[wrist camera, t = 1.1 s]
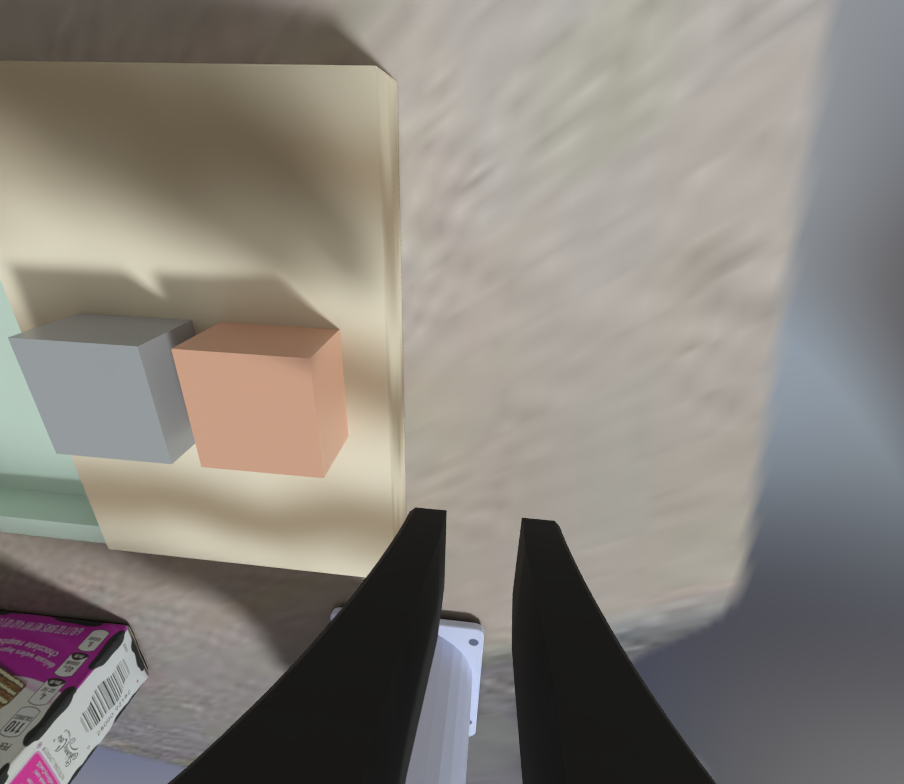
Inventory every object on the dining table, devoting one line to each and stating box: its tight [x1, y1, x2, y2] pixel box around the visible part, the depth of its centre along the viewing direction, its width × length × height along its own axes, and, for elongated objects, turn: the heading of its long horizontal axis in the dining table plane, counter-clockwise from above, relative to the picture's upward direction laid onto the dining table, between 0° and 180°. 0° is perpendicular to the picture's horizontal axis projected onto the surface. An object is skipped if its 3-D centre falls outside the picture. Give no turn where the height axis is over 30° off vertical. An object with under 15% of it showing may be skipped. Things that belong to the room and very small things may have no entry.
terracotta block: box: [171, 322, 349, 478], centre depth 15 cm, size 4×4×2 cm
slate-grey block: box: [8, 313, 196, 464], centre depth 15 cm, size 4×4×2 cm
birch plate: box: [0, 61, 406, 577], centre depth 17 cm, size 18×13×2 cm
